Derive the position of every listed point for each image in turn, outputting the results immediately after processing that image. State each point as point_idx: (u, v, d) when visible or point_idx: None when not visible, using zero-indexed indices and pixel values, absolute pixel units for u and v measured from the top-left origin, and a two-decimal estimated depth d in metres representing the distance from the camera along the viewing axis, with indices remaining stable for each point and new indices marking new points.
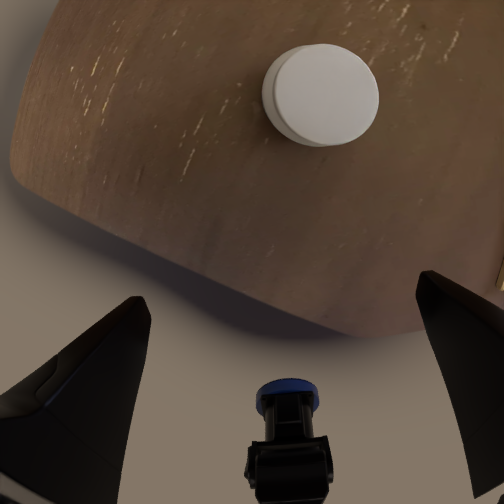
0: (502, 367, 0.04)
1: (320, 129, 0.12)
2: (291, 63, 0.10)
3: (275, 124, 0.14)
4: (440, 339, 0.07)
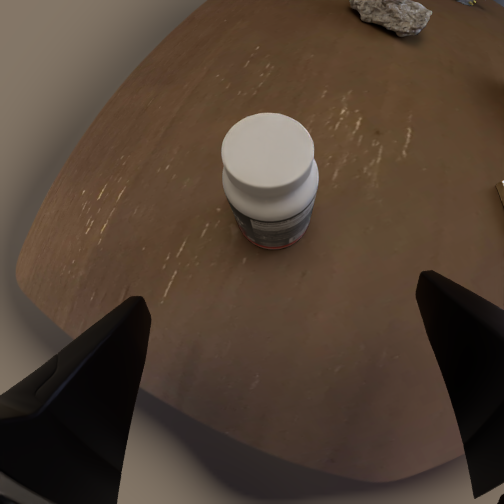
0: (502, 367, 0.04)
1: (262, 175, 0.14)
2: (234, 130, 0.15)
3: (233, 200, 0.16)
4: (440, 339, 0.07)
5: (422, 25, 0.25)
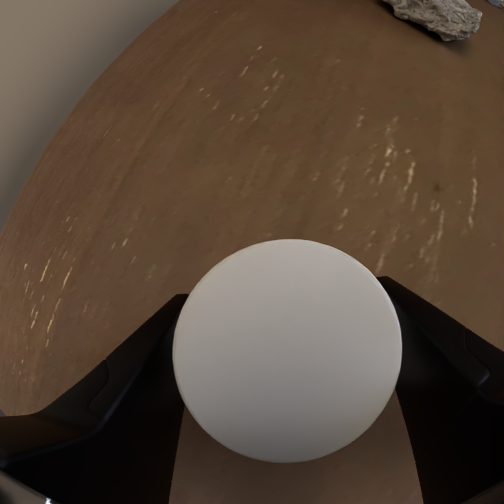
0: (448, 387, 0.05)
1: (273, 436, 0.05)
2: (204, 295, 0.06)
3: None
4: None
5: (474, 29, 0.16)
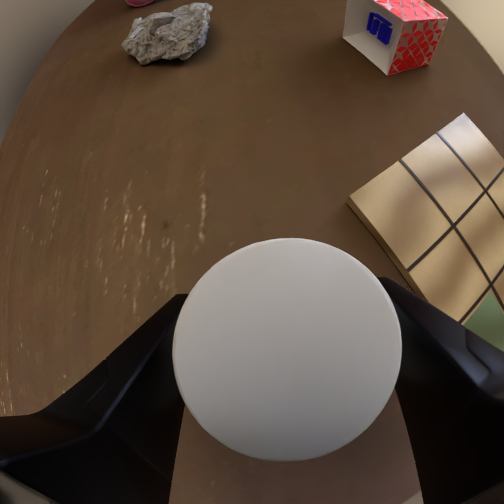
0: (448, 387, 0.05)
1: (273, 435, 0.05)
2: (203, 294, 0.06)
3: None
4: None
5: (200, 33, 0.24)
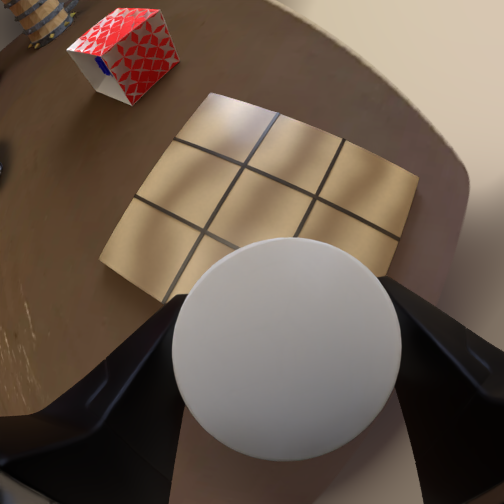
0: (448, 387, 0.05)
1: (273, 435, 0.05)
2: (203, 293, 0.06)
3: None
4: None
5: None
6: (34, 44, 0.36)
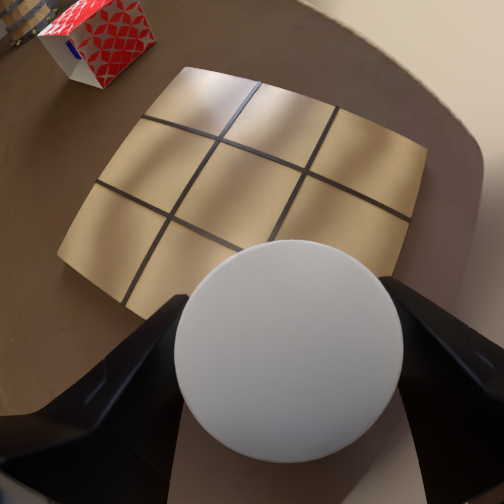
0: (451, 386, 0.05)
1: (276, 437, 0.05)
2: (205, 296, 0.06)
3: None
4: None
5: None
6: (16, 41, 0.32)
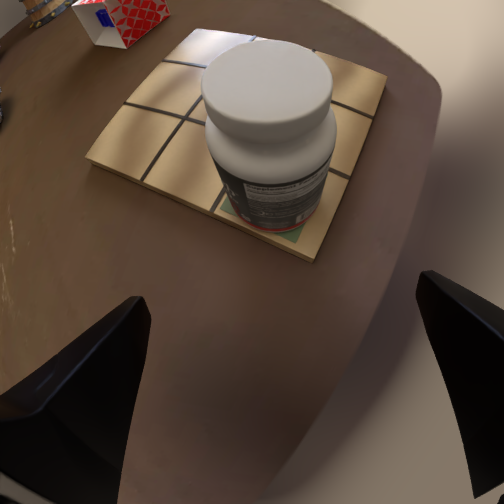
0: (502, 367, 0.04)
1: (259, 107, 0.09)
2: (220, 58, 0.09)
3: (218, 156, 0.11)
4: (440, 339, 0.07)
5: None
6: (36, 23, 0.35)
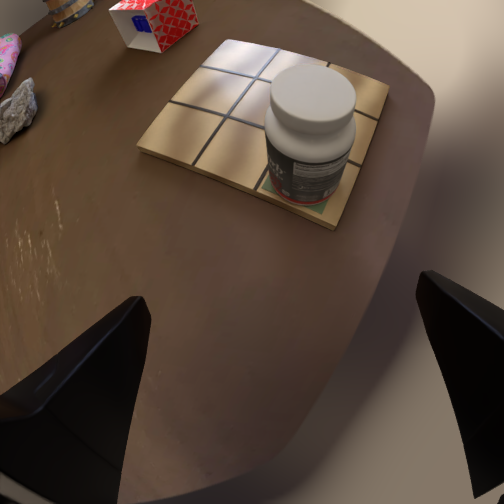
0: (502, 367, 0.04)
1: (312, 110, 0.13)
2: (281, 75, 0.14)
3: (277, 142, 0.16)
4: (440, 339, 0.07)
5: (28, 102, 0.28)
6: (58, 23, 0.40)
